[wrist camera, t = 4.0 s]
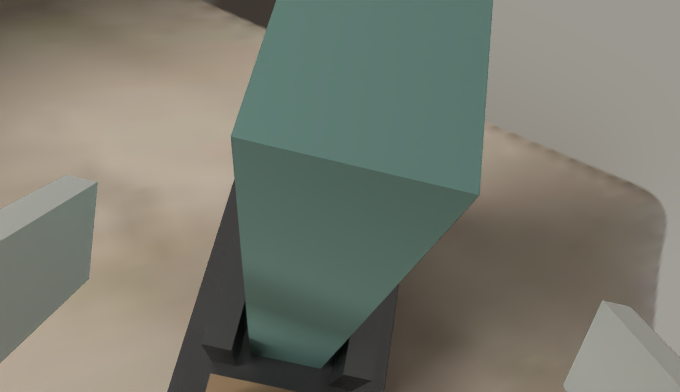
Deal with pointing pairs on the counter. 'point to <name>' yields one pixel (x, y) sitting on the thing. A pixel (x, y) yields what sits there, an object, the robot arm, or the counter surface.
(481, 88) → the plank
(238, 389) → the block
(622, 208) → the counter surface
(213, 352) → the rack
